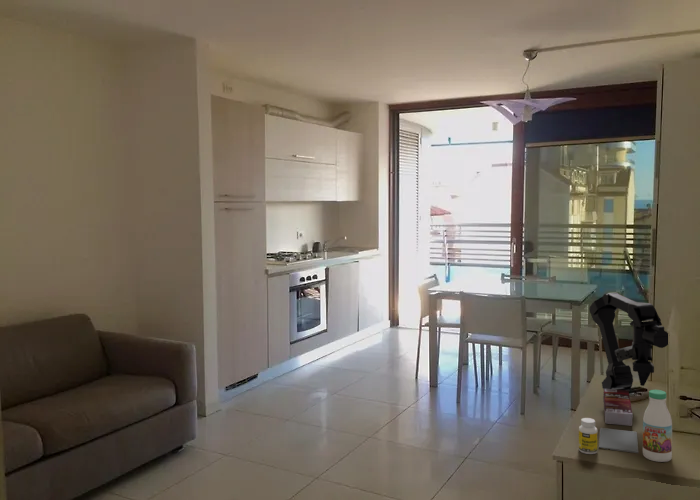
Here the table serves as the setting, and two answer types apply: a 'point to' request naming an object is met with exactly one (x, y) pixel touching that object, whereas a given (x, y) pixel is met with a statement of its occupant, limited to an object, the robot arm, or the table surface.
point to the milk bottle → (657, 428)
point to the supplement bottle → (588, 436)
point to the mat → (618, 440)
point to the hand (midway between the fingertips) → (642, 385)
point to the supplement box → (617, 407)
